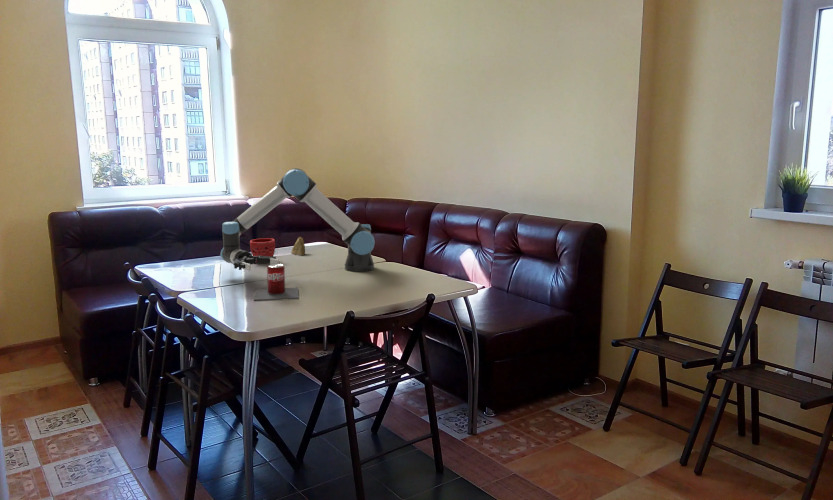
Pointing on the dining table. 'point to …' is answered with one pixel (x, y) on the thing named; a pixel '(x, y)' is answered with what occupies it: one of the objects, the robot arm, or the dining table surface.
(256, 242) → the plant pot
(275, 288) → the soda can
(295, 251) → the rock
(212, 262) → the dining table surface
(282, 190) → the robot arm
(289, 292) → the mat
